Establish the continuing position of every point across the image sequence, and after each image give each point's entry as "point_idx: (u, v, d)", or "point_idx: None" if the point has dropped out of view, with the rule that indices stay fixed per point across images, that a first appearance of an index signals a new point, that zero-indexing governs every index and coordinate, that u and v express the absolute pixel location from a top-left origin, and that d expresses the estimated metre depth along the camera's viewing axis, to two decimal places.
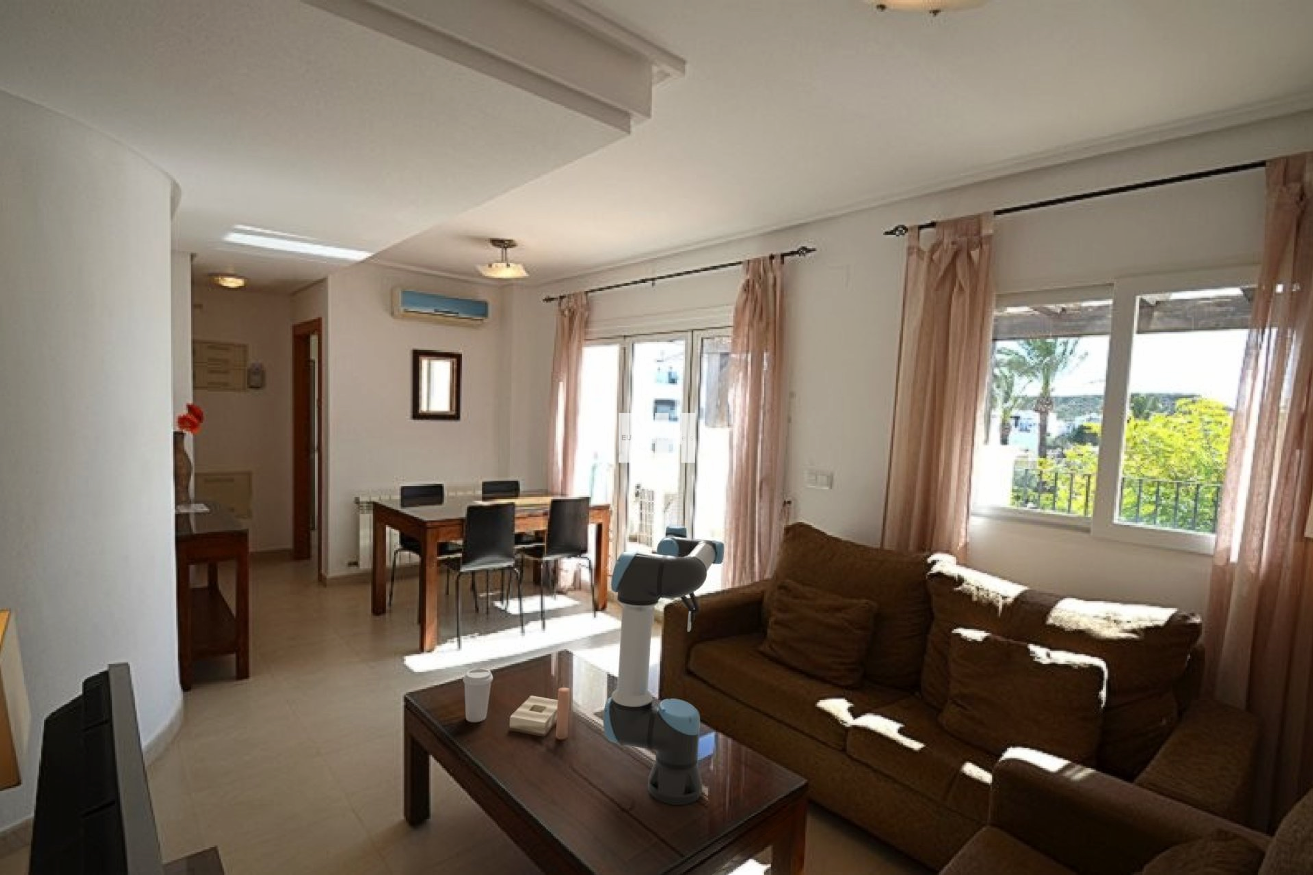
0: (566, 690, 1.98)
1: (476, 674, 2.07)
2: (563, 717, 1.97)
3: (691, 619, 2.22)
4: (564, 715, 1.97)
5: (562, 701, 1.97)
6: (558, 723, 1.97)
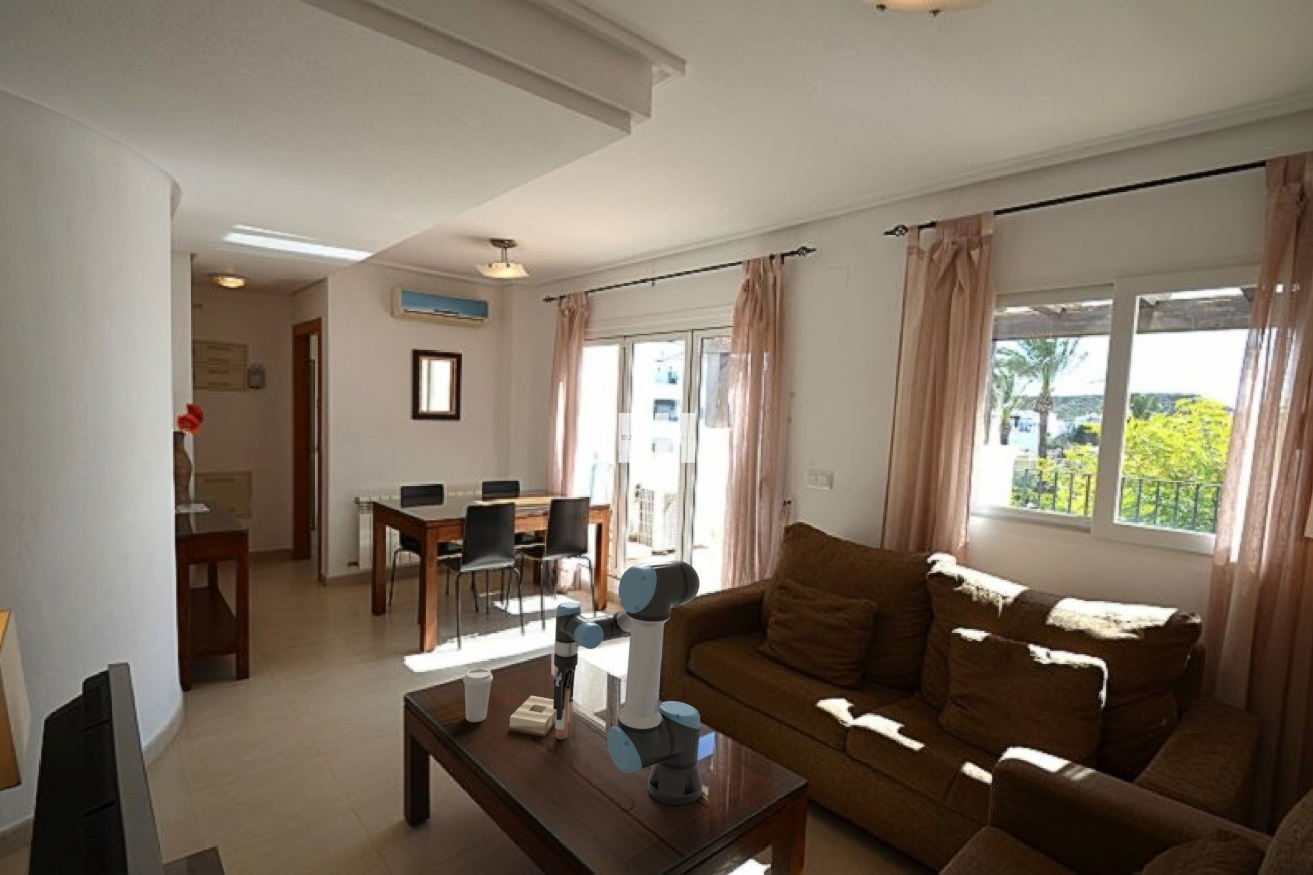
0: (566, 690, 1.98)
1: (476, 674, 2.07)
2: None
3: None
4: None
5: None
6: None
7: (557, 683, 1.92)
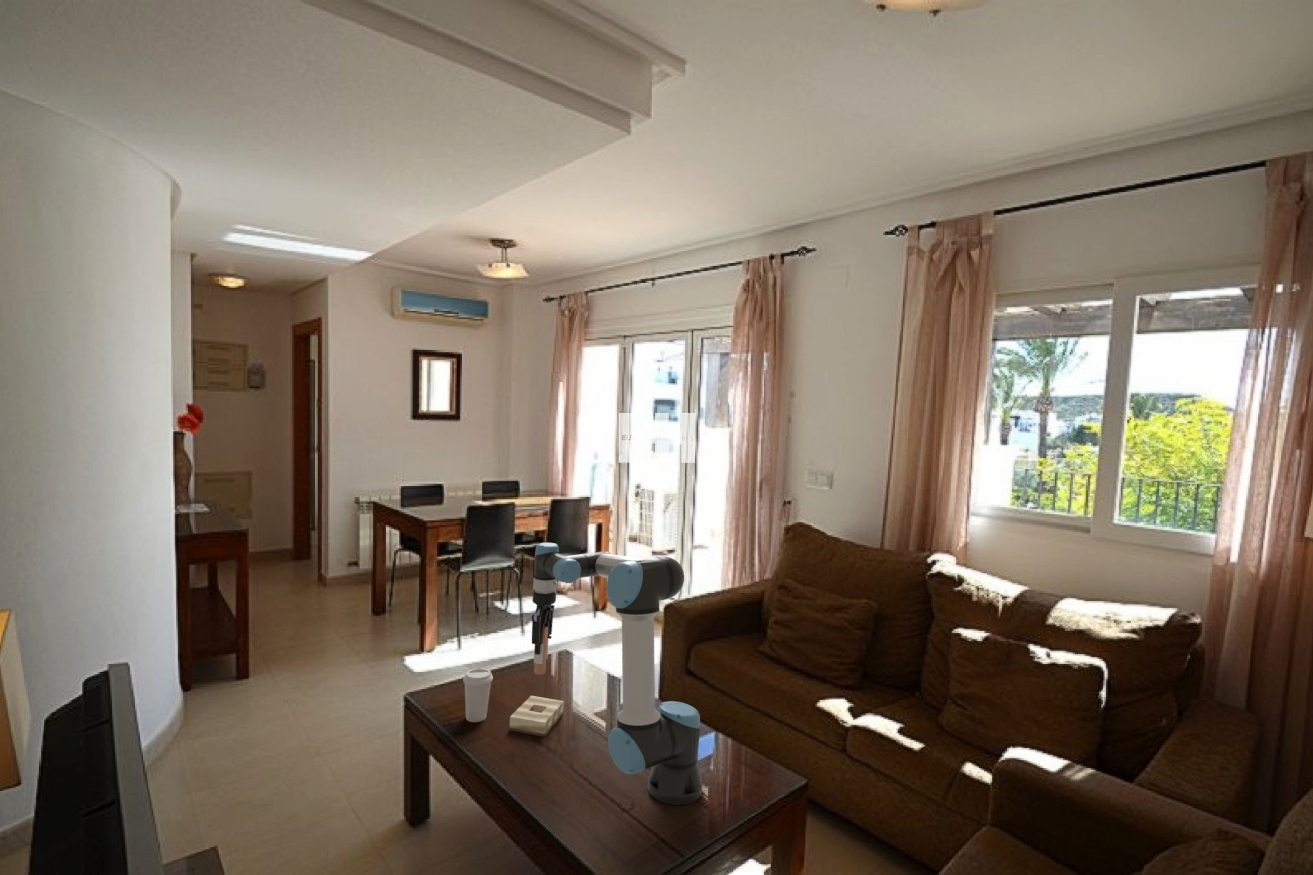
0: (544, 627, 2.06)
1: (476, 674, 2.07)
2: None
3: None
4: None
5: None
6: None
7: (535, 618, 2.00)
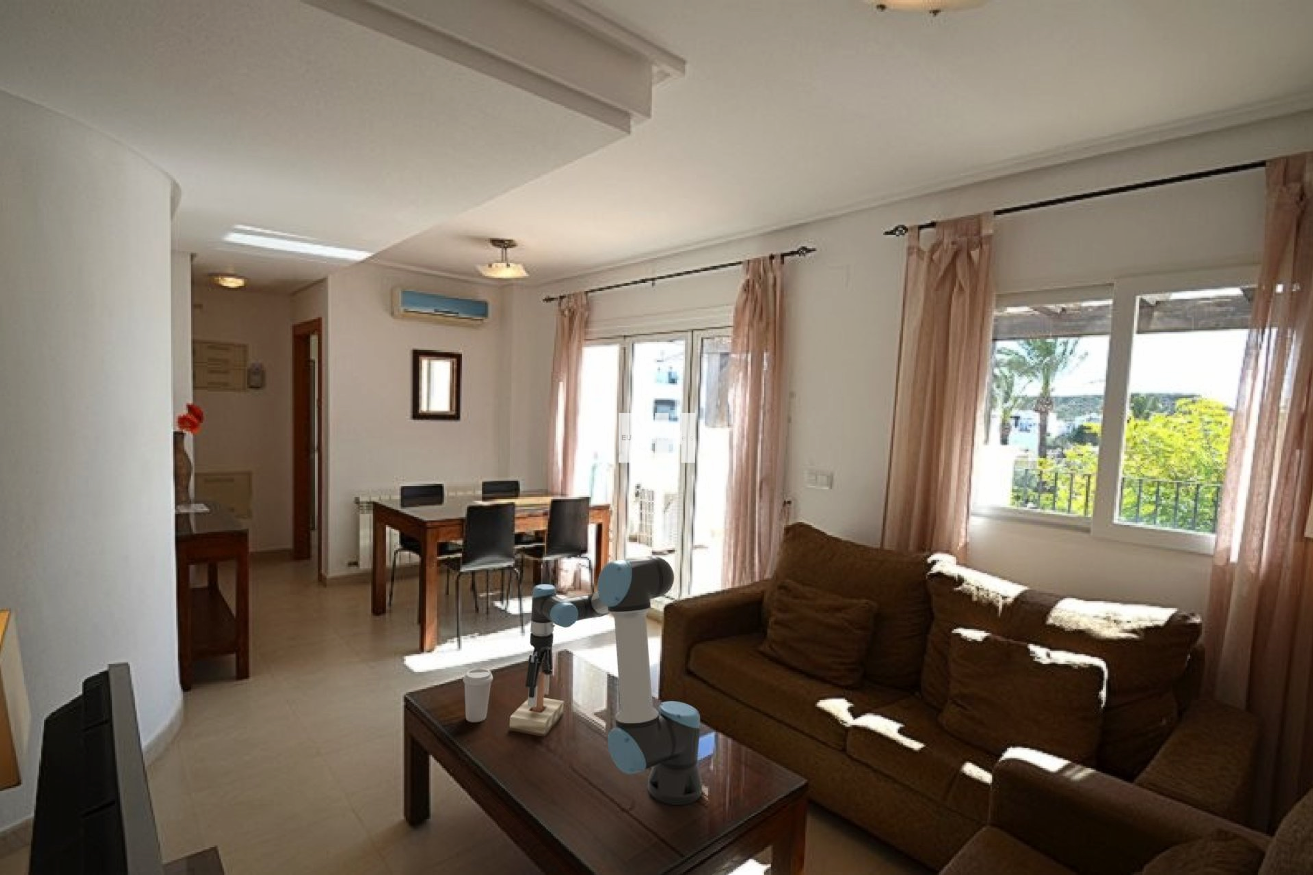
0: (541, 674, 2.07)
1: (476, 674, 2.07)
2: (538, 700, 2.05)
3: None
4: (539, 698, 2.05)
5: (538, 685, 2.05)
6: None
7: (532, 659, 2.00)
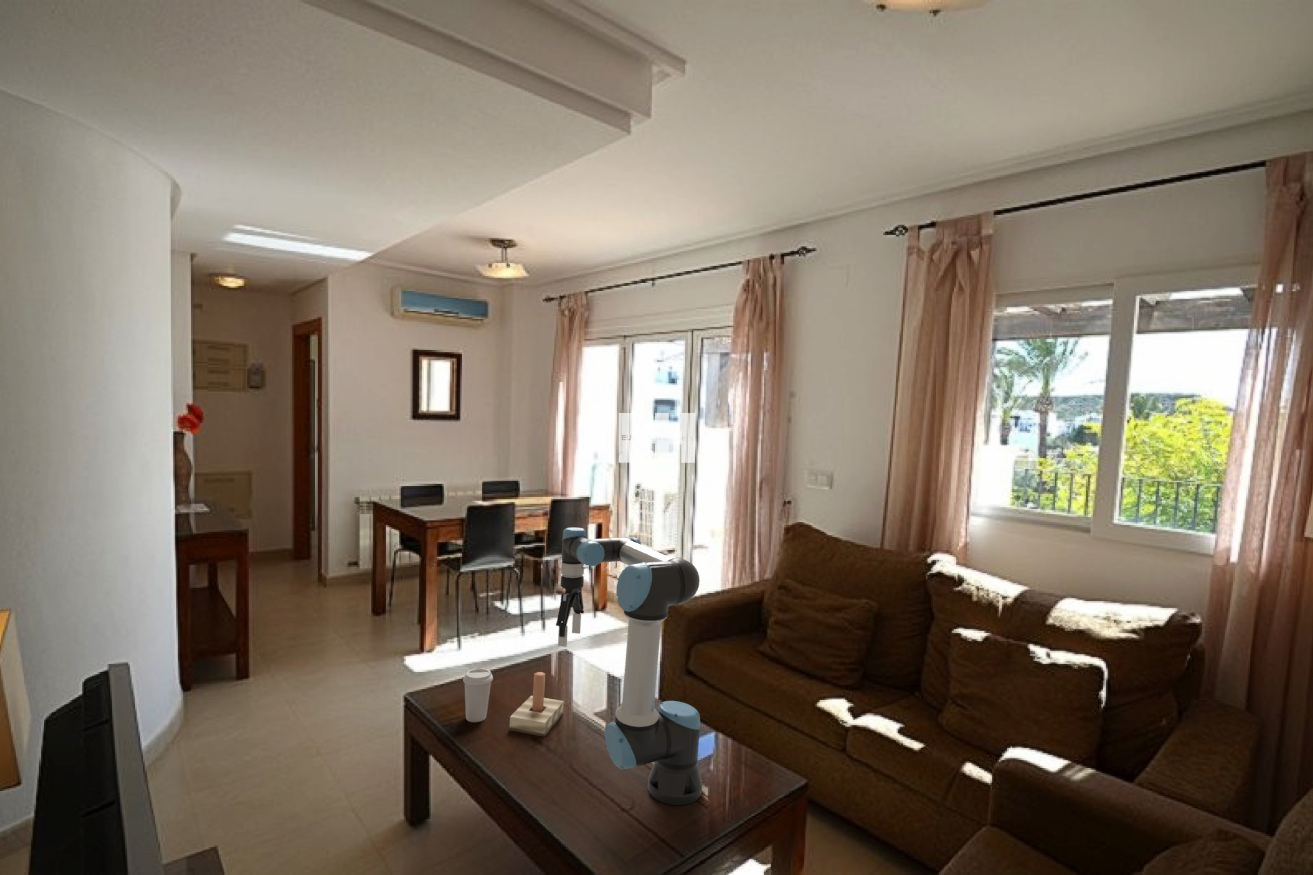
0: (541, 674, 2.06)
1: (476, 674, 2.07)
2: (539, 700, 2.05)
3: None
4: (540, 698, 2.05)
5: (538, 685, 2.05)
6: (534, 706, 2.06)
7: (564, 597, 2.00)
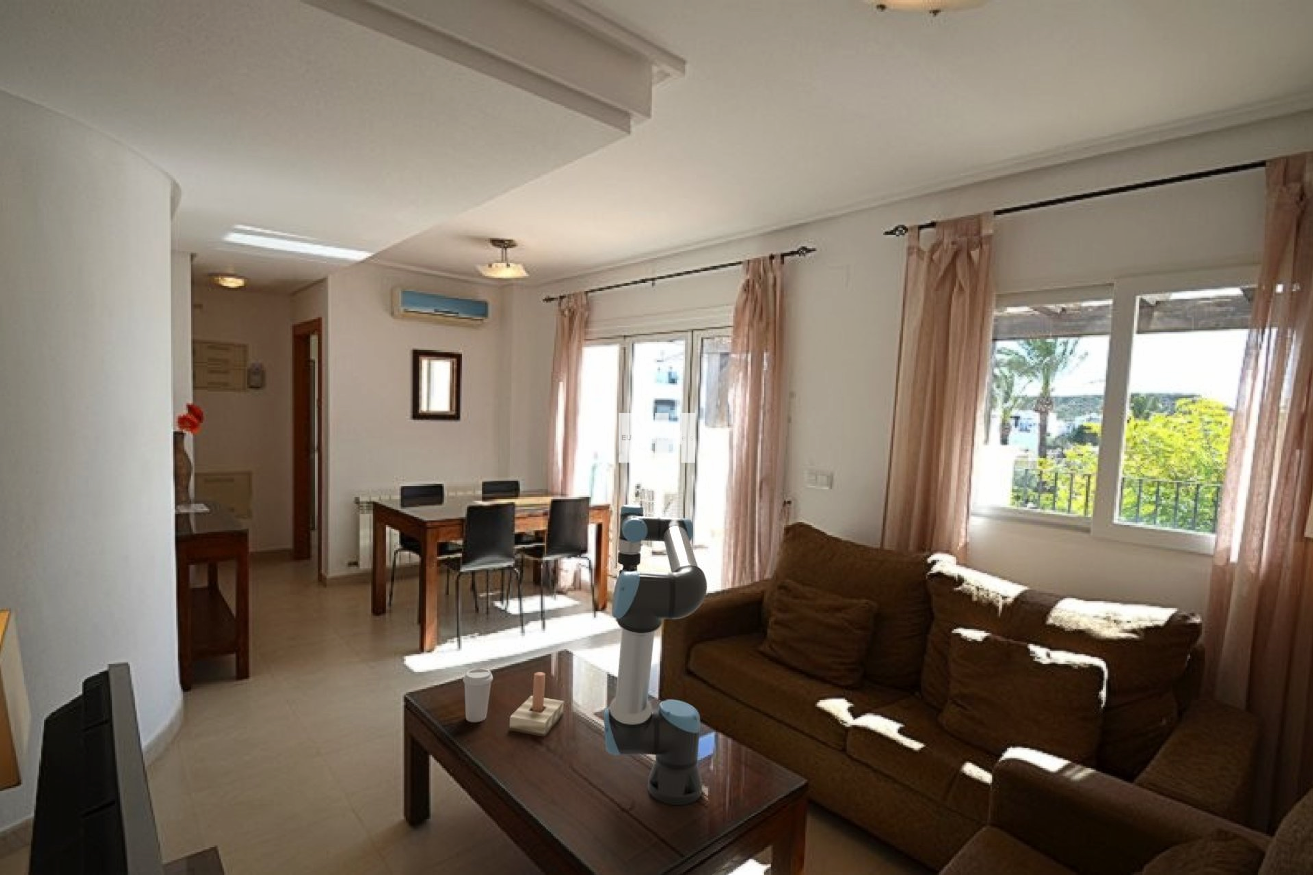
0: (541, 674, 2.06)
1: (476, 674, 2.07)
2: (539, 700, 2.05)
3: None
4: (540, 698, 2.05)
5: (538, 685, 2.05)
6: (534, 706, 2.06)
7: None
